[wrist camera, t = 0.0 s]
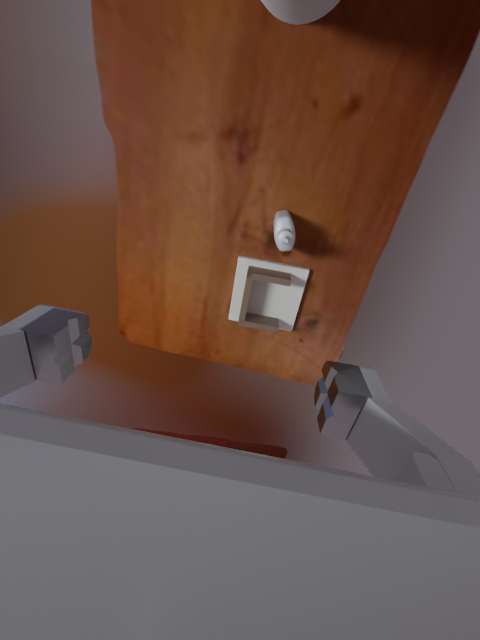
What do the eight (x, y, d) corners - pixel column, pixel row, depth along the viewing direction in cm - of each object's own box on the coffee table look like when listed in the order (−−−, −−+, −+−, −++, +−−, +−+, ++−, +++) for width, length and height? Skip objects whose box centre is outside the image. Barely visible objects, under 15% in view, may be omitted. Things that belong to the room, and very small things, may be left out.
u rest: (239, 255, 57) (236, 262, 52) (309, 268, 56) (312, 277, 52) (228, 317, 63) (225, 328, 59) (291, 329, 63) (292, 341, 59)
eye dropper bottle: (300, 215, 52) (308, 228, 42) (287, 244, 55) (291, 263, 44) (278, 206, 52) (280, 216, 41) (266, 236, 54) (265, 252, 44)
